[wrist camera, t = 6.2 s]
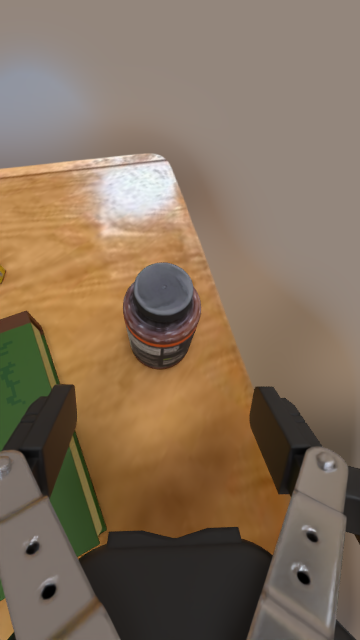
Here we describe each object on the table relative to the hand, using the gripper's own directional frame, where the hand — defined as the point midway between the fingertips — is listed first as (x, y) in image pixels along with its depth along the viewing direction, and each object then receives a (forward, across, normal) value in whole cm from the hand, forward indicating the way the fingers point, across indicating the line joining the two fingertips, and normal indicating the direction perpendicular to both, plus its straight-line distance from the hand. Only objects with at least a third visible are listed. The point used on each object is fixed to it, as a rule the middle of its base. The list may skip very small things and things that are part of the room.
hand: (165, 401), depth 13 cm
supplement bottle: (+16, 0, +5) cm, 17 cm away
